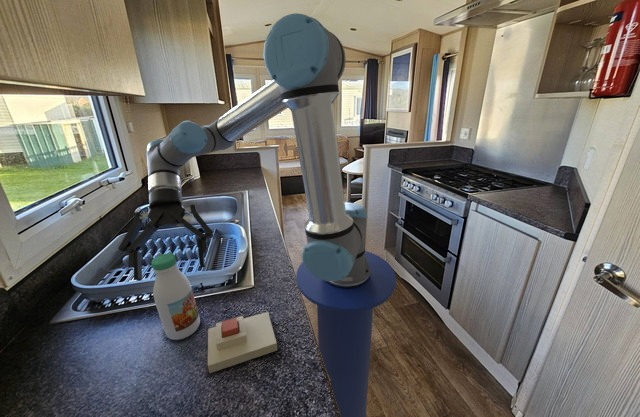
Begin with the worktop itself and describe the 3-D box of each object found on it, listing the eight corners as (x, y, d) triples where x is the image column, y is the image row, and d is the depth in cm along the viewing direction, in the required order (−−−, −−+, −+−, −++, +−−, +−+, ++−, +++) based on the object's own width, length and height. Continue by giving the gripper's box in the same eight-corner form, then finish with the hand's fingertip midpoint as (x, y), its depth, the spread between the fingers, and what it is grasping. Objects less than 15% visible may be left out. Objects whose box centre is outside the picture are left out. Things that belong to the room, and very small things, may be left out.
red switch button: (237, 323, 60) (236, 317, 60) (238, 333, 58) (237, 327, 57) (222, 327, 59) (221, 321, 59) (223, 338, 56) (222, 332, 56)
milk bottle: (164, 346, 59) (139, 272, 52) (167, 322, 66) (145, 253, 58) (201, 334, 62) (182, 262, 55) (200, 312, 69) (183, 245, 61)
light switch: (268, 318, 66) (267, 305, 65) (277, 350, 57) (276, 336, 56) (209, 335, 62) (206, 322, 60) (209, 373, 53) (205, 359, 51)
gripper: (217, 193, 76) (228, 264, 69) (116, 206, 68) (116, 288, 61) (214, 180, 70) (225, 257, 62) (101, 193, 62) (99, 283, 54)
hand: (171, 272), depth 62 cm, fingers open, 13 cm apart
